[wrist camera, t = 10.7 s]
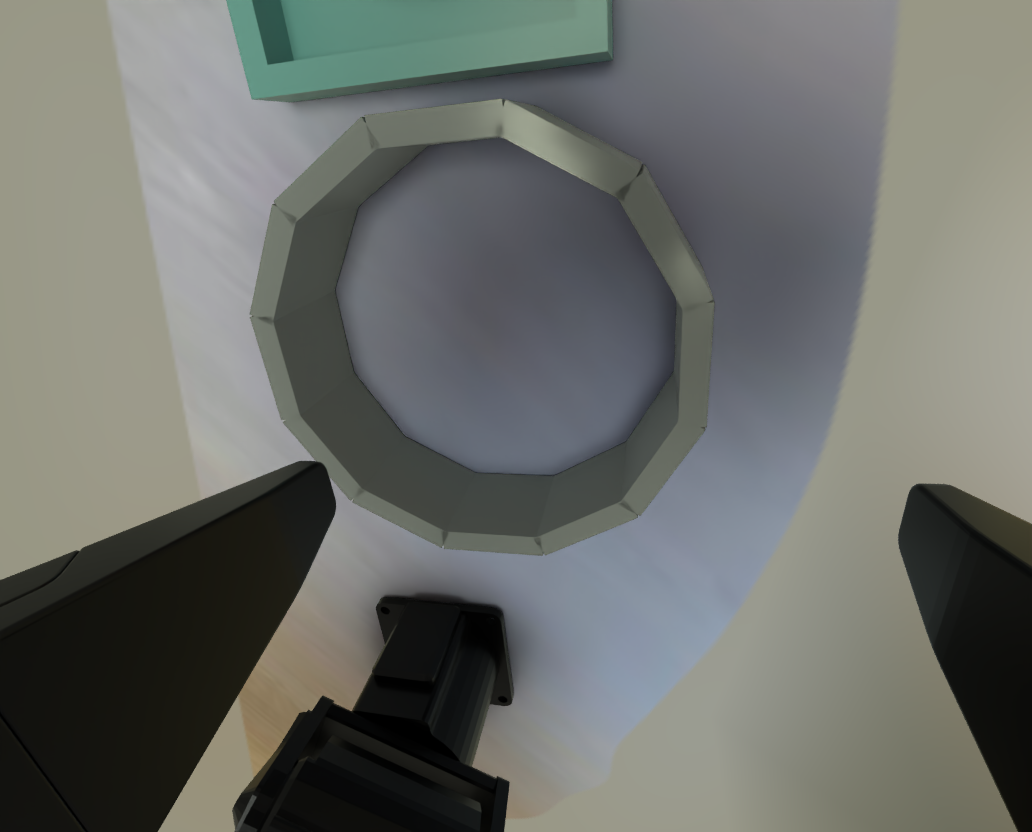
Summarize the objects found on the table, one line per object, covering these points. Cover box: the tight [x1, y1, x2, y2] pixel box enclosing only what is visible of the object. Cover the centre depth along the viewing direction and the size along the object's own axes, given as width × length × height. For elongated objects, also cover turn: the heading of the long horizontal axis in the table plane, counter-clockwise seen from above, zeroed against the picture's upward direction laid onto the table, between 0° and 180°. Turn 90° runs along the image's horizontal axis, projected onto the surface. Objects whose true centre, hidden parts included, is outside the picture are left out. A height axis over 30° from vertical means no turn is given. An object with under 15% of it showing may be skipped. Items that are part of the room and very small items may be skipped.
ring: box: [250, 99, 715, 556], centre depth 19 cm, size 14×14×4 cm
